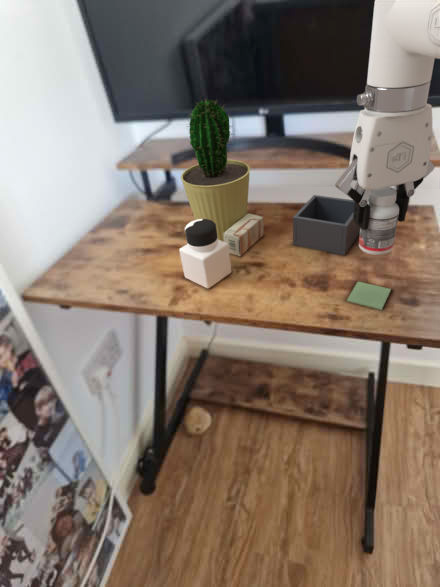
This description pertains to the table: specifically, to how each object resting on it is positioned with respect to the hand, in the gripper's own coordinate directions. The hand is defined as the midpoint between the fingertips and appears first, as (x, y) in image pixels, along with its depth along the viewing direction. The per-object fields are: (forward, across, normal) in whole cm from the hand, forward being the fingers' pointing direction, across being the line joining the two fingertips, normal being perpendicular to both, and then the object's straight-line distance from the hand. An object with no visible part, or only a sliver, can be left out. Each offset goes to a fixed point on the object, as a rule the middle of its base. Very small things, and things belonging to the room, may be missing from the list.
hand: (379, 220), depth 63 cm
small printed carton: (+13, -20, +23) cm, 33 cm away
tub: (+15, +2, +22) cm, 27 cm away
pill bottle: (+5, 0, 0) cm, 5 cm away
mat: (+15, 0, 0) cm, 15 cm away
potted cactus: (+15, -19, +35) cm, 43 cm away
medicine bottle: (+15, -26, +18) cm, 35 cm away
